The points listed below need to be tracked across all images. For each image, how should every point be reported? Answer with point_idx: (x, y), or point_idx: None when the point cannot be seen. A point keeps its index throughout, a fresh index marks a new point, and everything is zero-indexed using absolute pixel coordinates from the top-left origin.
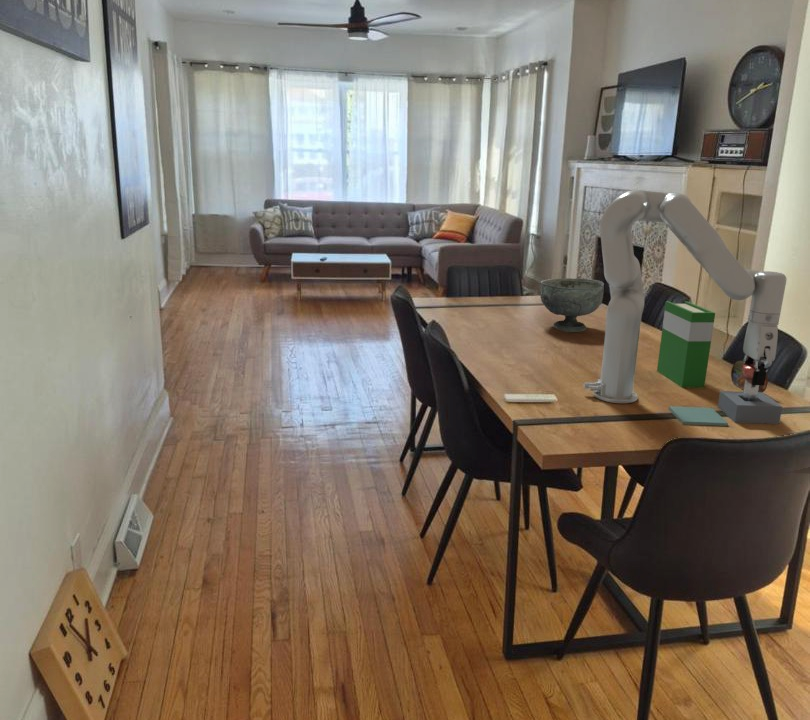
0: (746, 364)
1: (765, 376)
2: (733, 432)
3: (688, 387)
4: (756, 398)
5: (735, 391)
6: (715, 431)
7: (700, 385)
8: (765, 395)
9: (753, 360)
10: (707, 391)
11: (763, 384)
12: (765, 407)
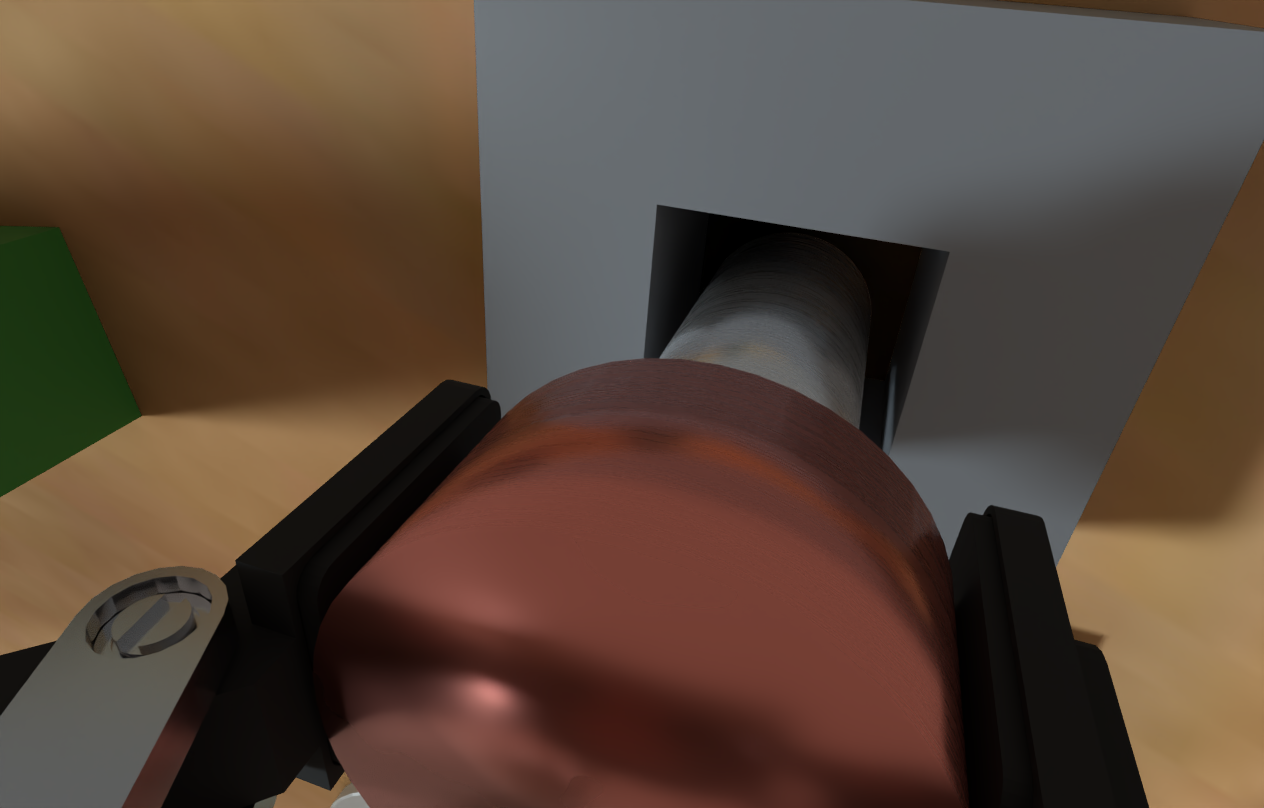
0: (380, 798)
1: (1081, 687)
2: (1250, 690)
3: (118, 364)
4: (837, 317)
5: (487, 370)
6: (1165, 788)
7: (58, 271)
8: (629, 6)
9: (188, 719)
10: (159, 261)
11: (1032, 529)
12: (1157, 335)
